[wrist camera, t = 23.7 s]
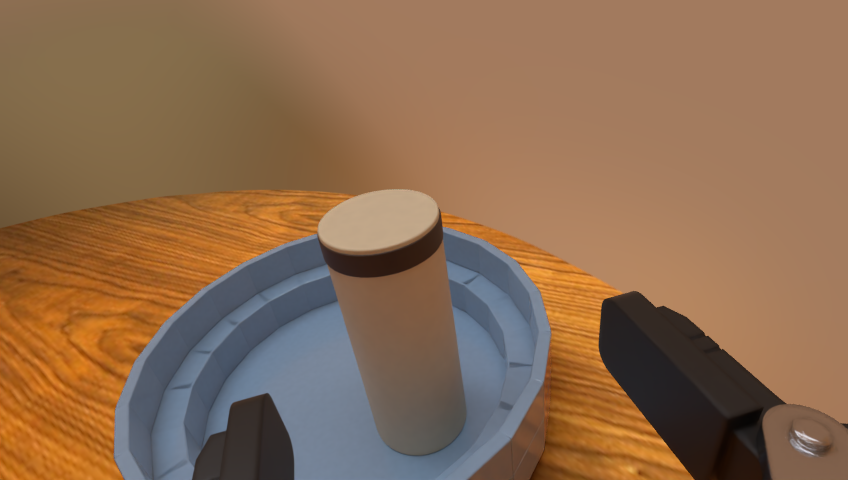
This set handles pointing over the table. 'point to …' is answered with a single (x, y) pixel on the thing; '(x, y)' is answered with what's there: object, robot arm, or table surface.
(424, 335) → the beige cylindrical canister
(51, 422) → the table surface
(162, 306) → the table surface
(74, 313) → the table surface
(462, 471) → the bowl
